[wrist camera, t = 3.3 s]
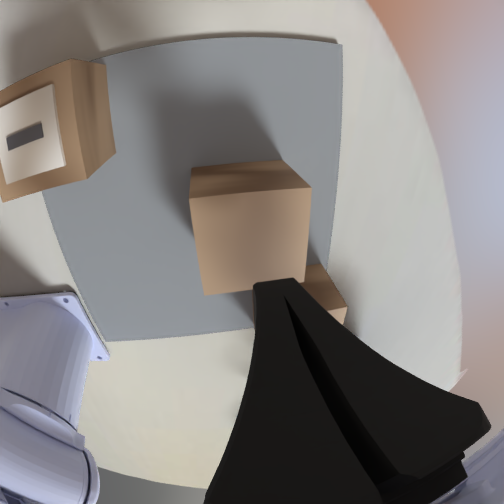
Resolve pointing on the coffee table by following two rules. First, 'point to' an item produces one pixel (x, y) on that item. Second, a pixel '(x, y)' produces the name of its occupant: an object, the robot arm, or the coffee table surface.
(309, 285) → the labelled block
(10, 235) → the coffee table surface
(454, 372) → the coffee table surface
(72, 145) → the labelled block
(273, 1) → the coffee table surface
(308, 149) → the grey mat
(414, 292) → the coffee table surface
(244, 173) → the plain block
